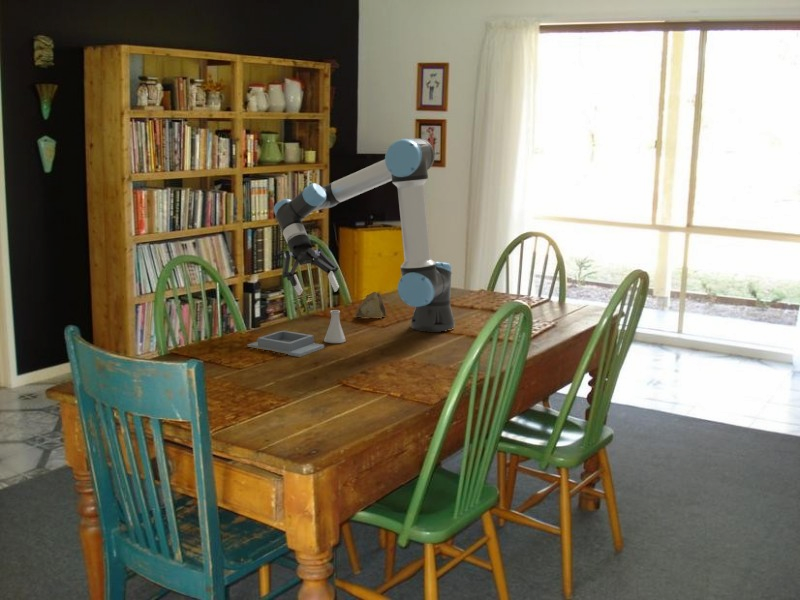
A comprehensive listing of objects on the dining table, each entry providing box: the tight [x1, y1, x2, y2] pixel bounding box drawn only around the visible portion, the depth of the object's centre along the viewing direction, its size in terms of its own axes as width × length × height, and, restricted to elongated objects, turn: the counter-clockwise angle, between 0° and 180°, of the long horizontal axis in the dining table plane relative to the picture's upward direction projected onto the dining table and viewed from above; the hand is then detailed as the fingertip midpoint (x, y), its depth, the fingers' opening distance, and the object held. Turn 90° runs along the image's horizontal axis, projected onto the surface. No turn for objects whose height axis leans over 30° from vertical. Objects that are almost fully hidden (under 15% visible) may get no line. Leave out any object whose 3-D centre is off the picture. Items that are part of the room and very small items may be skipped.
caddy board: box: [246, 330, 325, 358], centre depth 286 cm, size 20×13×4 cm, turn 60°
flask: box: [323, 309, 347, 344], centre depth 295 cm, size 7×7×10 cm
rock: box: [355, 291, 387, 318], centre depth 331 cm, size 11×9×10 cm
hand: (318, 291), depth 302 cm, fingers open, 13 cm apart
